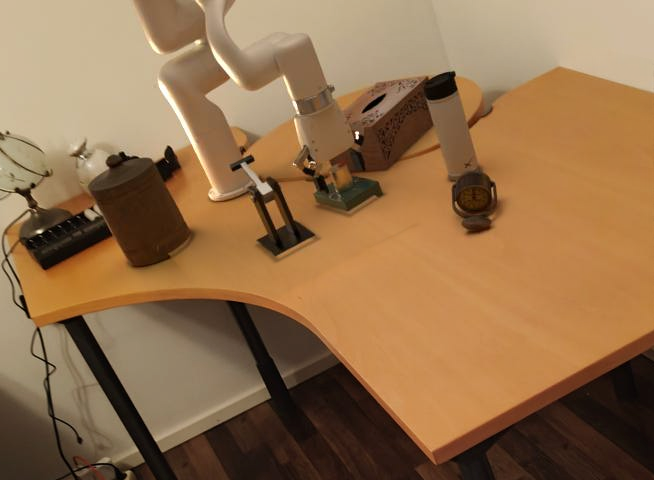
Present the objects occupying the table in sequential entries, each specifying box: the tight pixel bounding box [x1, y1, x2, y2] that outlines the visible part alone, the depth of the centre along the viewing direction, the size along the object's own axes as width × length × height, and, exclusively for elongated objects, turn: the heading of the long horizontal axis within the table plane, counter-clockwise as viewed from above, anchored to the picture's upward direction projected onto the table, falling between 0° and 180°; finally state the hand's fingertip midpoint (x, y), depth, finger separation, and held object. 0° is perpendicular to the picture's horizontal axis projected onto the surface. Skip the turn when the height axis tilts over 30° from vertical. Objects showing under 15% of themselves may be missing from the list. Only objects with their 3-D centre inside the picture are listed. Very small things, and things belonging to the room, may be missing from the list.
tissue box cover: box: [328, 75, 434, 173], centre depth 193 cm, size 26×14×10 cm, turn 150°
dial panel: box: [312, 174, 384, 212], centre depth 175 cm, size 12×9×3 cm
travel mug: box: [423, 70, 480, 182], centre depth 164 cm, size 6×7×20 cm
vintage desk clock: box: [450, 170, 498, 232], centre depth 151 cm, size 7×13×10 cm
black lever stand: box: [247, 175, 316, 257], centre depth 165 cm, size 11×9×13 cm
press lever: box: [229, 153, 275, 205], centre depth 165 cm, size 12×5×2 cm, turn 29°
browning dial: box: [328, 162, 354, 192], centre depth 173 cm, size 4×4×5 cm
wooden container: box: [87, 154, 191, 267], centre depth 180 cm, size 15×15×22 cm
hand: (342, 181), depth 174 cm, fingers open, 9 cm apart
